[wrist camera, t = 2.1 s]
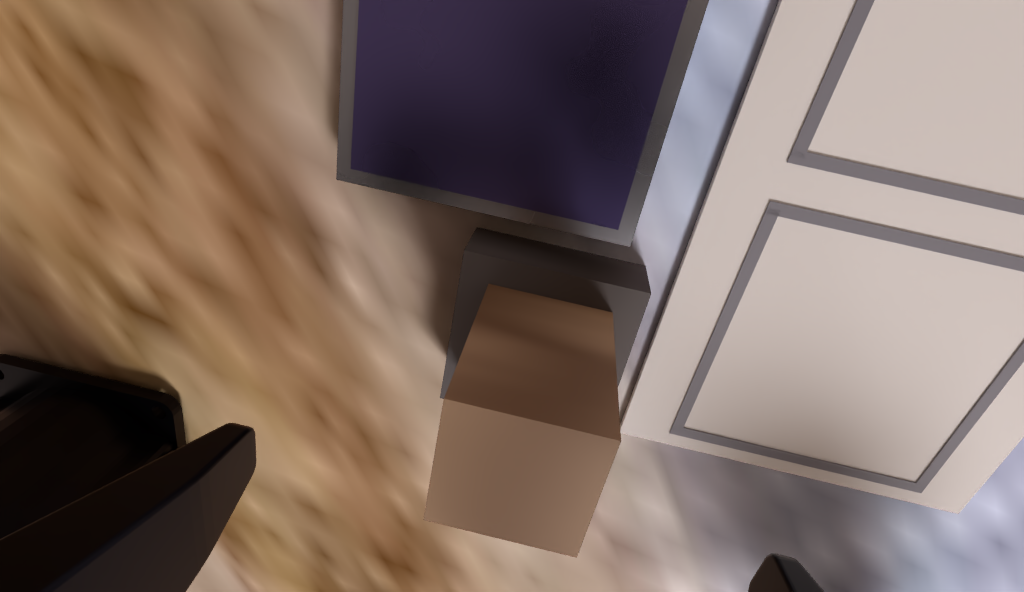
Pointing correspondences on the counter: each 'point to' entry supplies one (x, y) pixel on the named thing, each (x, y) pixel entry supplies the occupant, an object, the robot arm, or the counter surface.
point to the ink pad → (514, 104)
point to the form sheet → (858, 258)
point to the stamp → (533, 389)
